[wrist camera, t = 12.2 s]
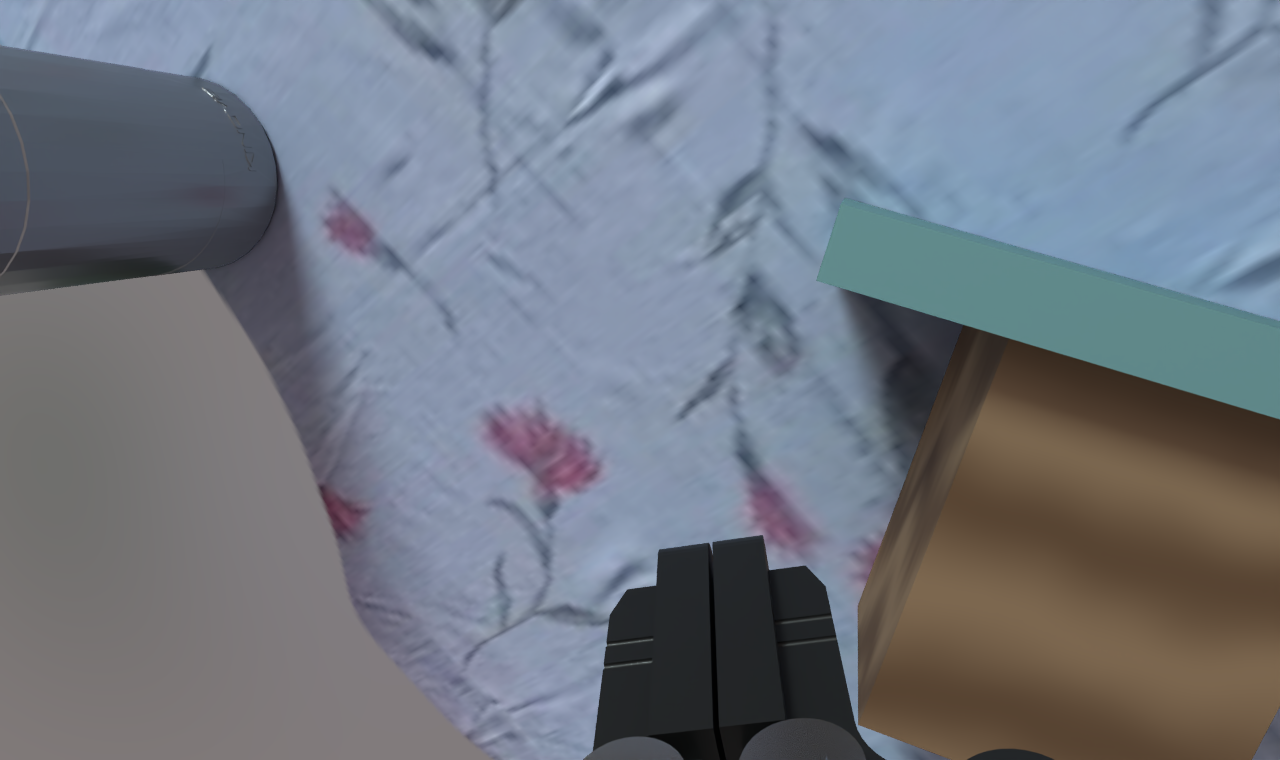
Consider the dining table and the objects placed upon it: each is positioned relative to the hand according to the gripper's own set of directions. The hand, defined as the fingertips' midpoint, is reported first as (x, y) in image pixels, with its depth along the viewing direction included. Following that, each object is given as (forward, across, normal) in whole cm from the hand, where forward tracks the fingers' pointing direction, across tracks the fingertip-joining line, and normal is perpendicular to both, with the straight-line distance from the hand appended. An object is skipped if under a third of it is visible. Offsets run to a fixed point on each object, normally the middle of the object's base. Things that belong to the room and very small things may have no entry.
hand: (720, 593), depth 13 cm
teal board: (+26, -16, +8) cm, 31 cm away
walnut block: (+24, -12, +16) cm, 32 cm away
